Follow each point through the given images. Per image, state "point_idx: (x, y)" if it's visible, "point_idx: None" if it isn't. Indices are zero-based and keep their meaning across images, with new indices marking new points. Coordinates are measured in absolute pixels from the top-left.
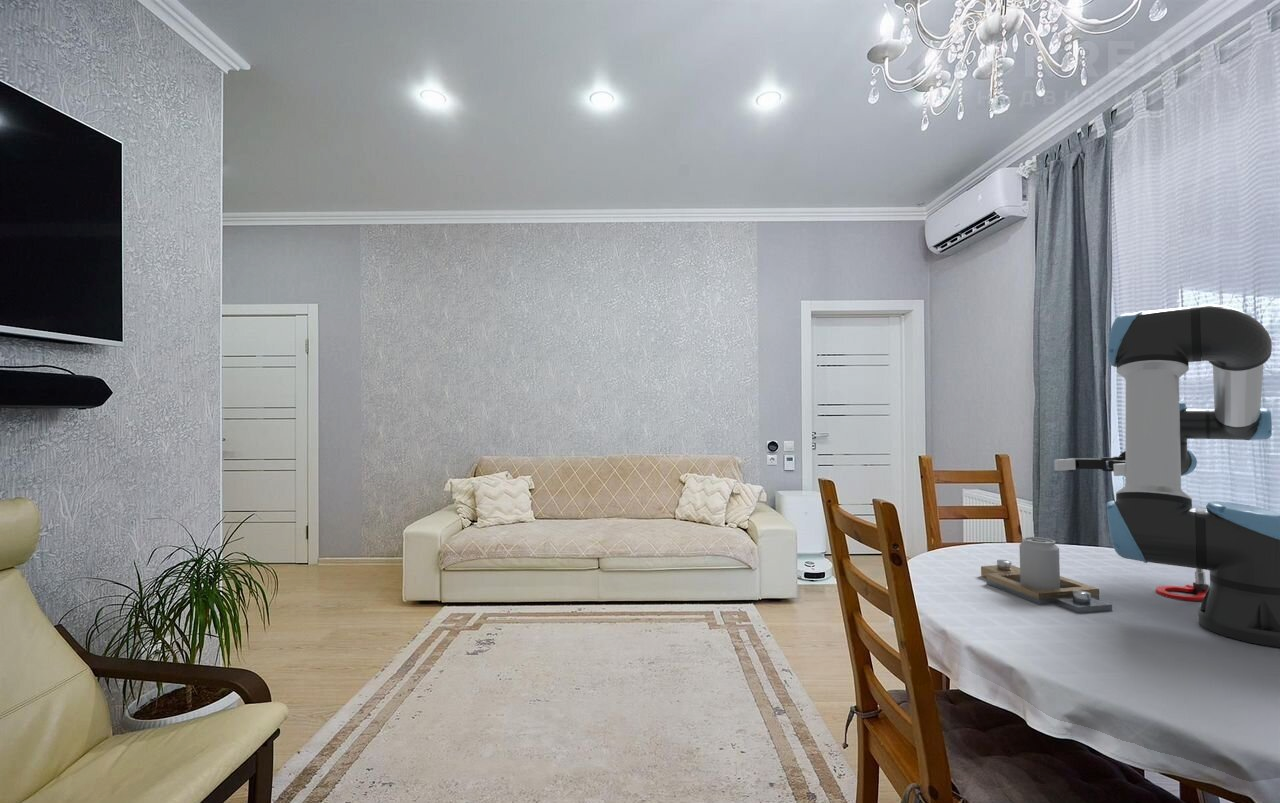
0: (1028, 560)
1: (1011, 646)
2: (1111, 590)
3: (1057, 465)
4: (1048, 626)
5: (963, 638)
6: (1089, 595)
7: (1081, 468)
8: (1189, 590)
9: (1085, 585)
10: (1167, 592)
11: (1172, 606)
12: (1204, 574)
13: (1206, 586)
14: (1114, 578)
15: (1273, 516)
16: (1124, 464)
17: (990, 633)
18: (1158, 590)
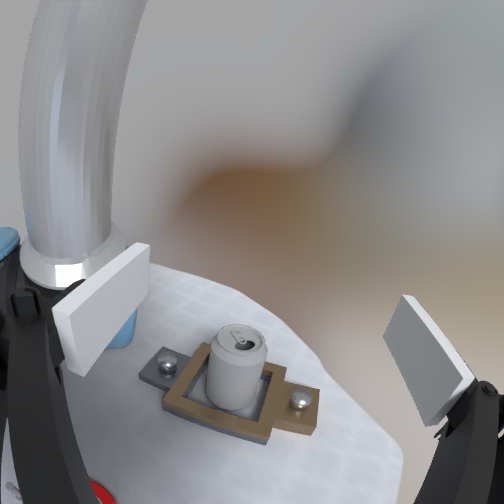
0: (237, 344)
1: (173, 279)
2: (169, 468)
3: (392, 317)
4: (170, 312)
5: (198, 276)
6: (158, 357)
7: (434, 456)
8: None
9: (181, 404)
10: (97, 491)
11: (85, 437)
12: None
13: None
14: None
15: None
16: (110, 265)
17: (192, 287)
18: (110, 496)
